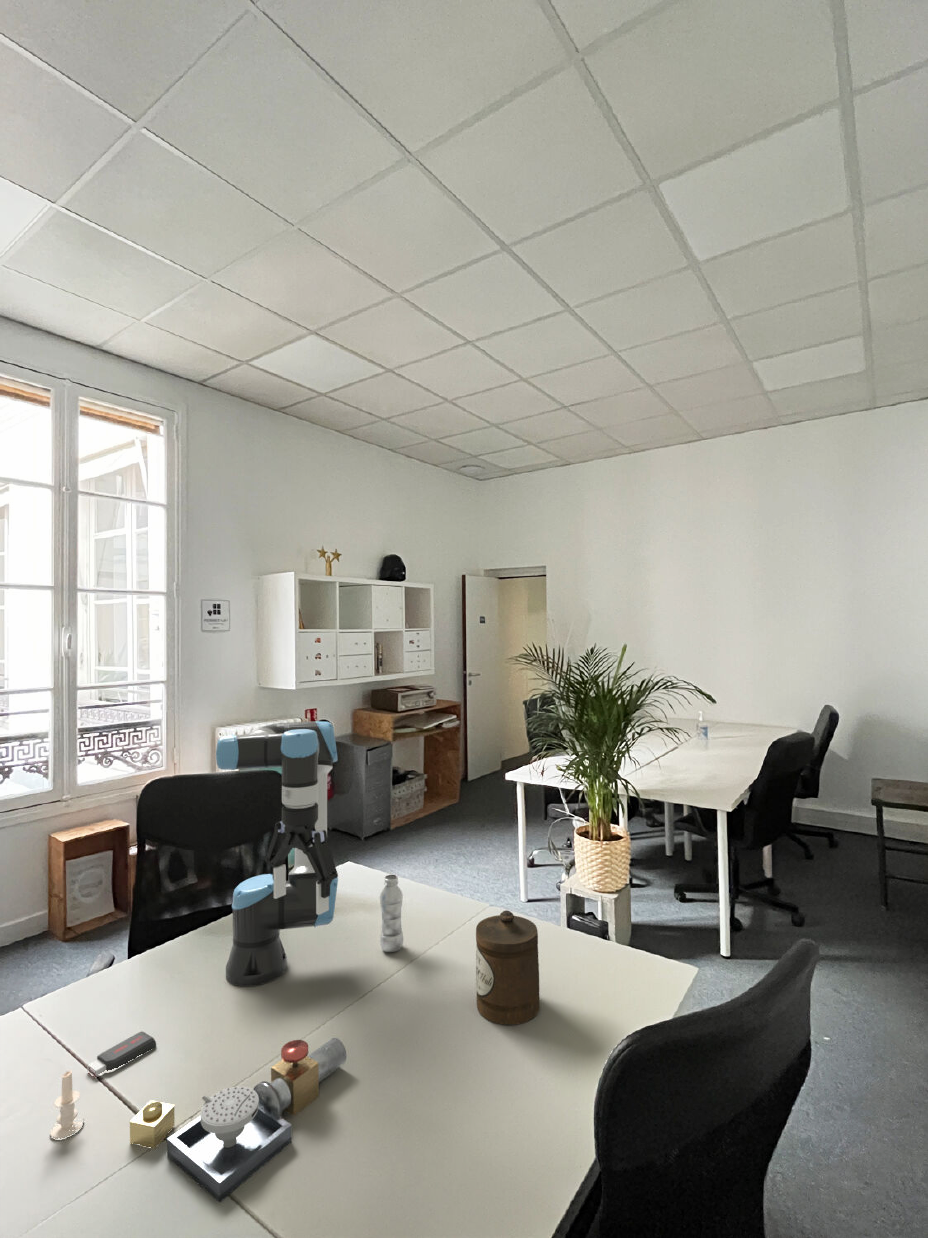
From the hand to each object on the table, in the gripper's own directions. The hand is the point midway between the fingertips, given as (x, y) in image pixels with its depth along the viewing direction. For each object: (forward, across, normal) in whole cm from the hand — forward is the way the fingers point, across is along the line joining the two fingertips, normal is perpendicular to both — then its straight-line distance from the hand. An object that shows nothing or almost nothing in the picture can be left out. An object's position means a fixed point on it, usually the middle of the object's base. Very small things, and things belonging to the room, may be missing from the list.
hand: (300, 904), depth 134 cm
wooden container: (+31, +28, +38) cm, 56 cm away
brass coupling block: (+31, -4, -30) cm, 43 cm away
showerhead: (+30, +10, -24) cm, 40 cm away
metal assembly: (+31, +10, -15) cm, 36 cm away
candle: (+31, -18, -38) cm, 52 cm away
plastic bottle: (+31, -12, +42) cm, 54 cm away
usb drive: (+31, -29, -23) cm, 48 cm away
